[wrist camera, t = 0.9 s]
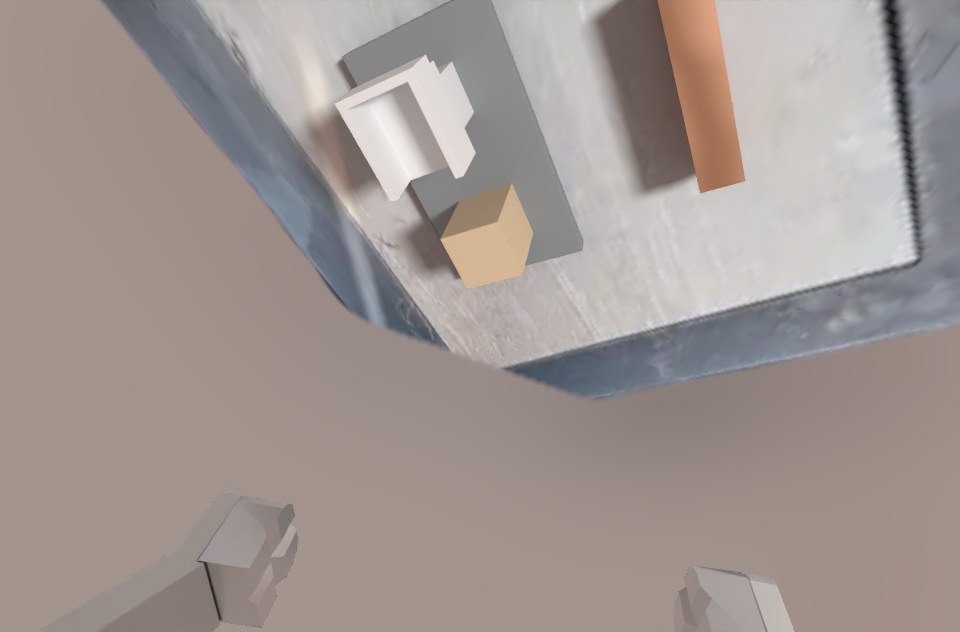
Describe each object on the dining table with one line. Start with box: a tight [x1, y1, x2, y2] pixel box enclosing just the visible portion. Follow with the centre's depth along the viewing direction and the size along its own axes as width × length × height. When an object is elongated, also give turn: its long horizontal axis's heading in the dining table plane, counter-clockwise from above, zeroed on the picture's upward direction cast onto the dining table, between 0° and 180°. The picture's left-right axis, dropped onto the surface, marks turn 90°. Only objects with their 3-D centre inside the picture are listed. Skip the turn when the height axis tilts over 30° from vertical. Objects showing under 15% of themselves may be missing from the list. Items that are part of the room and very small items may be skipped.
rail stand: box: [335, 0, 583, 289], centre depth 43 cm, size 12×22×11 cm, turn 25°
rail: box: [657, 0, 745, 193], centre depth 38 cm, size 3×14×5 cm, turn 24°
